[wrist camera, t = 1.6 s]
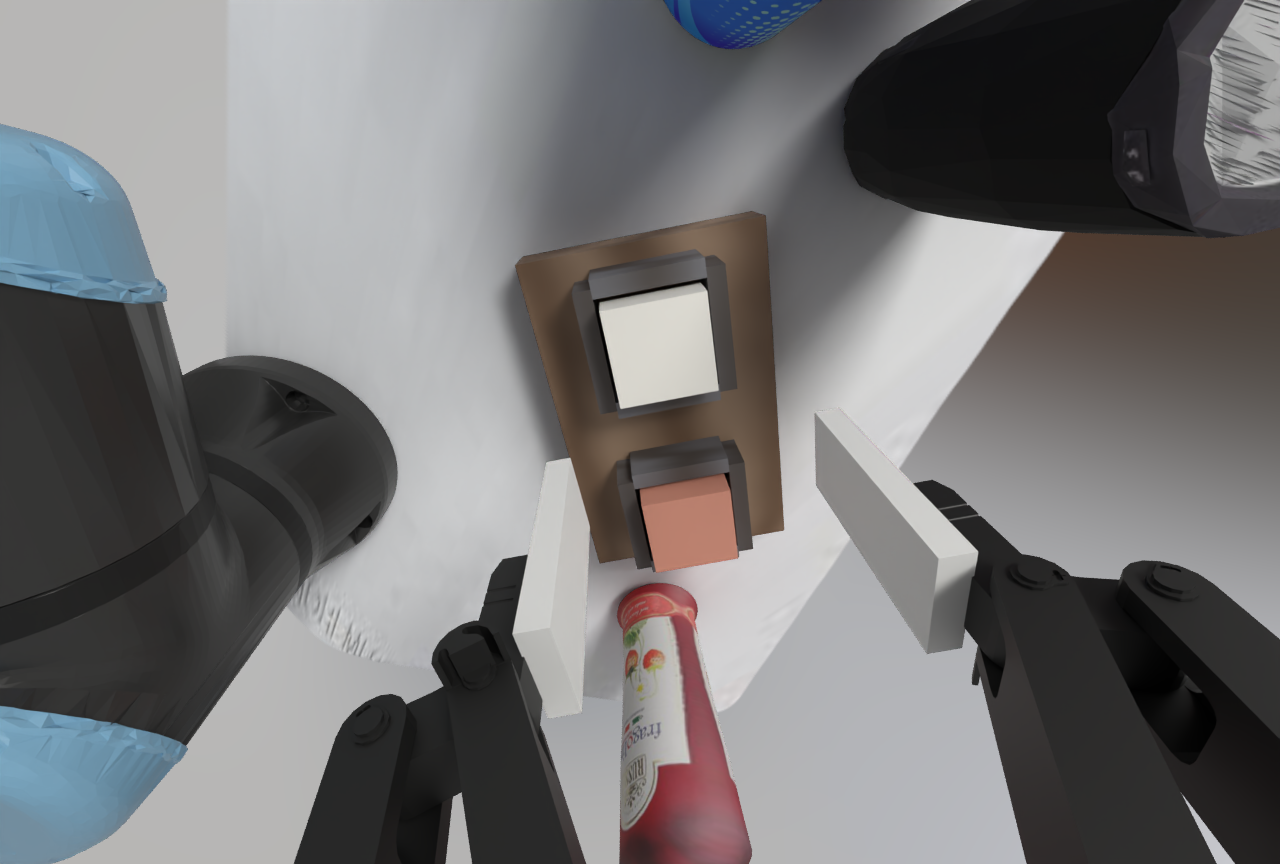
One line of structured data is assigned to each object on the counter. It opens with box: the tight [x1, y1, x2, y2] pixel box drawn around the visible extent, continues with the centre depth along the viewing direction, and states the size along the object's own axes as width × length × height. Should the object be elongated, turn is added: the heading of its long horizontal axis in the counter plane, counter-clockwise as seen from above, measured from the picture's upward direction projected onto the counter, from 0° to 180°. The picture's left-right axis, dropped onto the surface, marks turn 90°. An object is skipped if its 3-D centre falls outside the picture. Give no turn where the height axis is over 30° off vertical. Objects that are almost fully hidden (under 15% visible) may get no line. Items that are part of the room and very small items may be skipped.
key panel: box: [515, 211, 784, 572], centre depth 33 cm, size 14×22×6 cm, turn 10°
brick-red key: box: [640, 473, 738, 573], centre depth 33 cm, size 5×5×2 cm
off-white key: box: [599, 283, 719, 409], centre depth 27 cm, size 5×5×2 cm
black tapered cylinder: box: [843, 0, 1280, 238], centre depth 20 cm, size 9×9×20 cm
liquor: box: [617, 583, 752, 864], centre depth 32 cm, size 7×7×28 cm
